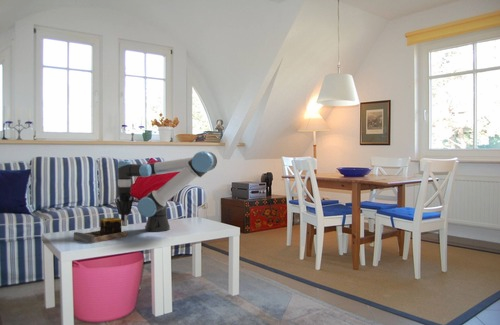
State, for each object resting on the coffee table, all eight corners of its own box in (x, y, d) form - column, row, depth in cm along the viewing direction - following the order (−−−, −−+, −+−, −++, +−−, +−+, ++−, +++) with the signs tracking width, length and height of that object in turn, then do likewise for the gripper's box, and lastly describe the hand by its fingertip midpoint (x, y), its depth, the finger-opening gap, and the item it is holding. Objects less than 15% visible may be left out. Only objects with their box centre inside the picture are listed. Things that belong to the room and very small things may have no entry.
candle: (103, 238, 222) (103, 220, 222) (99, 235, 231) (99, 218, 231) (122, 236, 228) (121, 219, 228) (117, 233, 236) (117, 217, 236)
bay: (109, 232, 238) (108, 226, 238) (126, 235, 229) (126, 229, 229) (73, 239, 219) (73, 232, 219) (92, 243, 210) (91, 235, 210)
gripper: (128, 185, 245) (128, 223, 245) (111, 186, 234) (111, 226, 234) (137, 186, 241) (137, 224, 241) (119, 187, 230) (119, 228, 230)
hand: (124, 225), depth 238 cm, fingers closed
